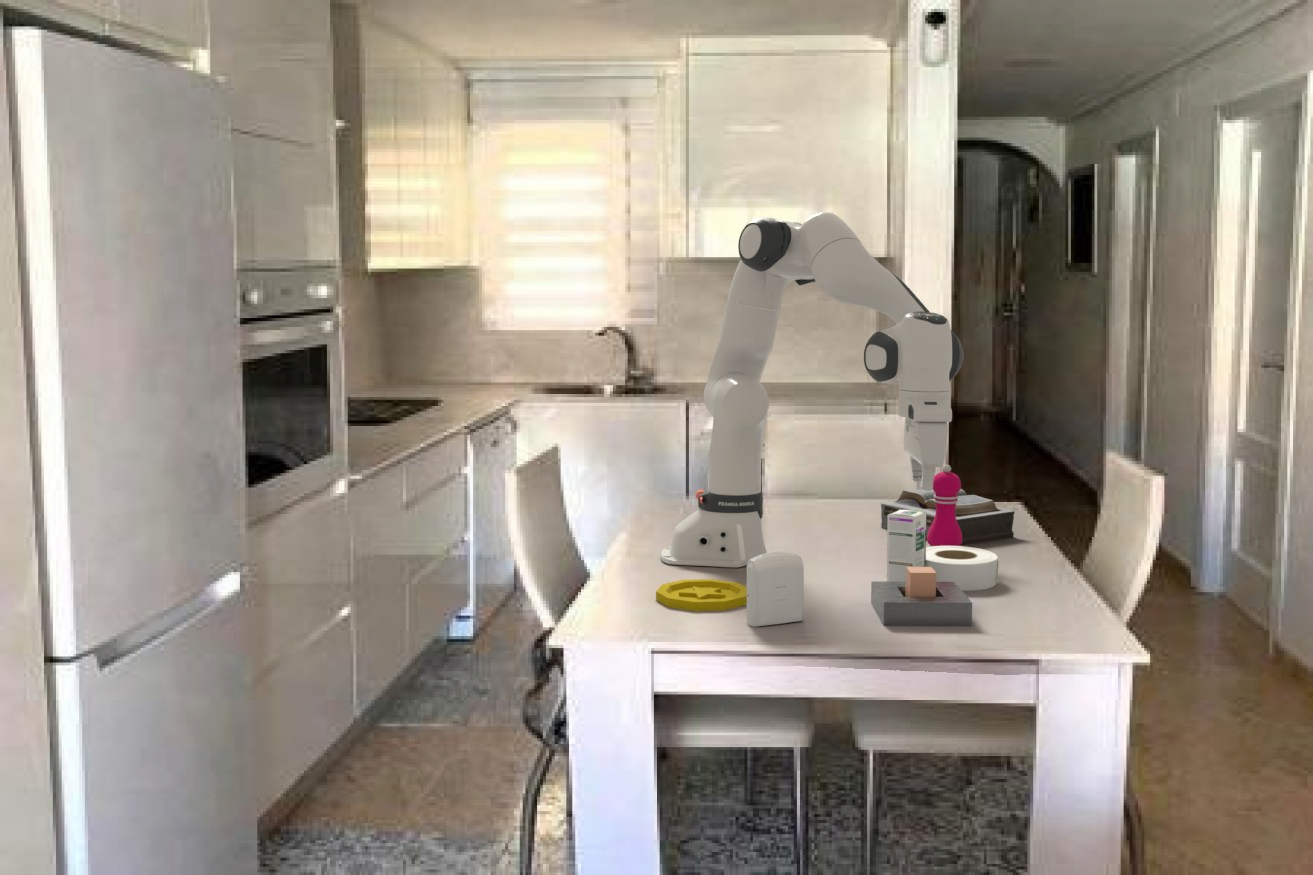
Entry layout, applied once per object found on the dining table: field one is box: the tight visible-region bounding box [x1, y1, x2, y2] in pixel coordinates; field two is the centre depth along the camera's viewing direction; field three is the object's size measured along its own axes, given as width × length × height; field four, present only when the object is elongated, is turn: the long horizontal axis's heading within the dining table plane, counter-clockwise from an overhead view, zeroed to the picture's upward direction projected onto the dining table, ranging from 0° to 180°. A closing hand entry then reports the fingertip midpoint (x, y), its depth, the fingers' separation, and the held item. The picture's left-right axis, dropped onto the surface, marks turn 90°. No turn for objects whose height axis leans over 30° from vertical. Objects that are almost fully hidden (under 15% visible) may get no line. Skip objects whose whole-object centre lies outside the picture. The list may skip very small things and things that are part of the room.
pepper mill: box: [926, 464, 962, 547], centre depth 276 cm, size 7×7×20 cm
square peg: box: [905, 567, 936, 597], centre depth 234 cm, size 4×4×8 cm
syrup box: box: [886, 510, 927, 582], centre depth 253 cm, size 6×6×14 cm
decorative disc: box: [655, 578, 747, 612], centre depth 245 cm, size 17×18×2 cm
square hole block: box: [870, 580, 973, 627], centre depth 234 cm, size 15×15×4 cm
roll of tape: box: [926, 545, 1000, 592], centre depth 258 cm, size 16×16×6 cm
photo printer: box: [746, 551, 805, 628], centre depth 228 cm, size 10×4×12 cm, turn 112°
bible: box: [880, 488, 1015, 546], centre depth 304 cm, size 23×27×10 cm
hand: (921, 485), depth 231 cm, fingers open, 8 cm apart
